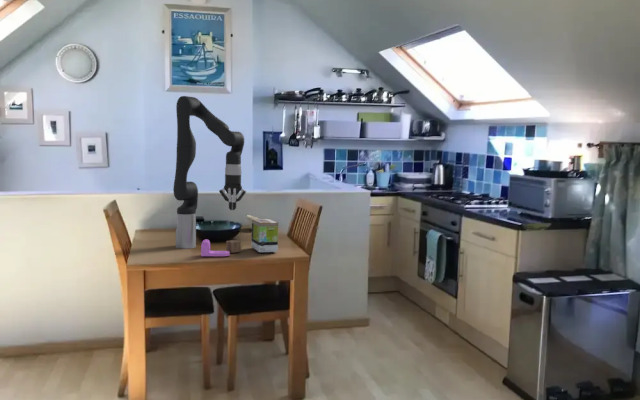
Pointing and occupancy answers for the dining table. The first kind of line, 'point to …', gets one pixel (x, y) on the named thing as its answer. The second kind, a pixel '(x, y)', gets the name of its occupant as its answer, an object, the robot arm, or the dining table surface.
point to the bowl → (251, 220)
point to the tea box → (264, 235)
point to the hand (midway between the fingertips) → (232, 209)
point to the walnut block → (233, 246)
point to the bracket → (206, 251)
